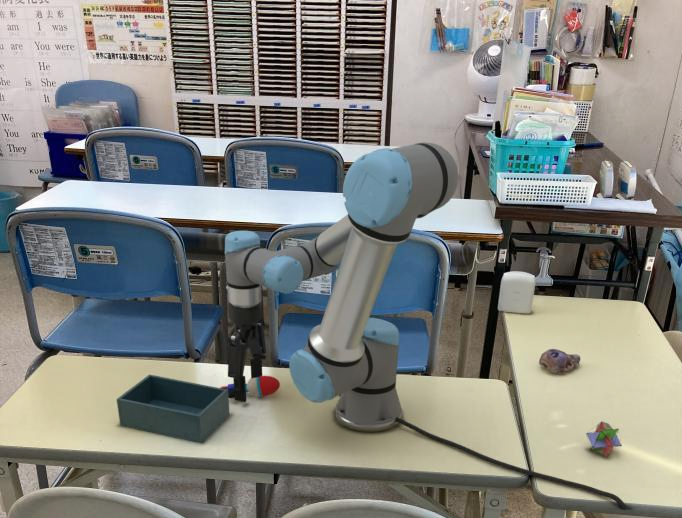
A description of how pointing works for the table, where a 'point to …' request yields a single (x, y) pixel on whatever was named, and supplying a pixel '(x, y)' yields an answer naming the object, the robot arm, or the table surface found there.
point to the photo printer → (516, 292)
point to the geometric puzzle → (604, 438)
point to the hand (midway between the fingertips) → (248, 392)
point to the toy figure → (257, 386)
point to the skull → (558, 361)
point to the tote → (174, 408)
